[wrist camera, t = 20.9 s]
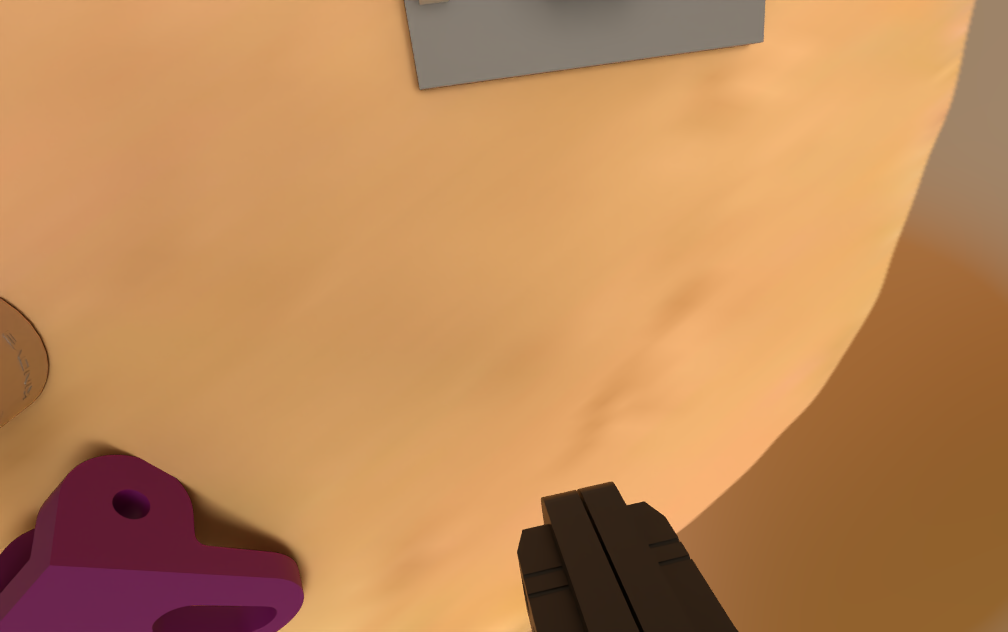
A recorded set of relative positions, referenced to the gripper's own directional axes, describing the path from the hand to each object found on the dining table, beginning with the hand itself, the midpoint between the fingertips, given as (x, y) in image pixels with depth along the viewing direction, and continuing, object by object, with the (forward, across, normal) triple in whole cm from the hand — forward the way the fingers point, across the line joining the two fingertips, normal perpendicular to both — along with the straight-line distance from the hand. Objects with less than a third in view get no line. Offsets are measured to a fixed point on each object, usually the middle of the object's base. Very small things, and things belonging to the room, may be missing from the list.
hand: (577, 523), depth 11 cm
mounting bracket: (+27, +24, +19) cm, 40 cm away
